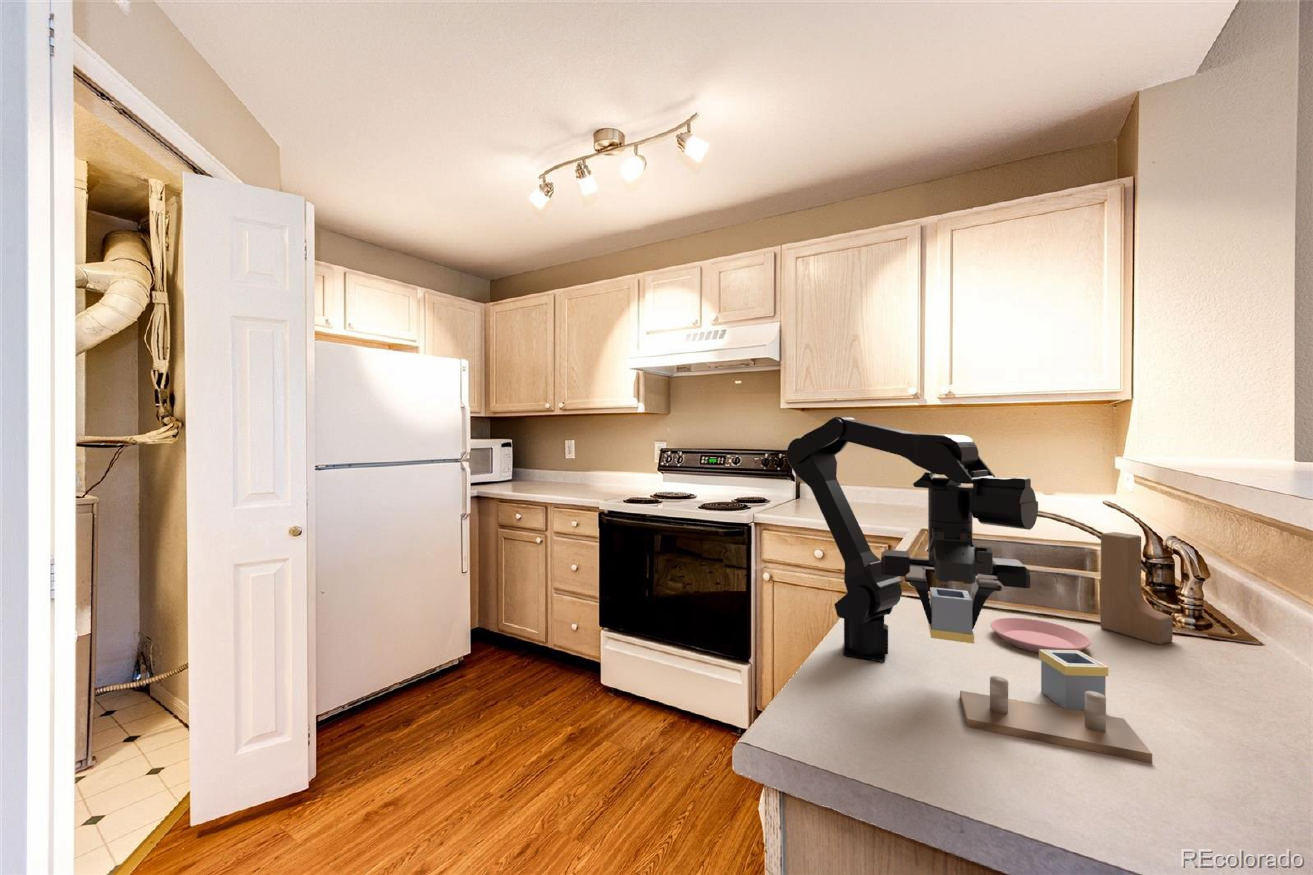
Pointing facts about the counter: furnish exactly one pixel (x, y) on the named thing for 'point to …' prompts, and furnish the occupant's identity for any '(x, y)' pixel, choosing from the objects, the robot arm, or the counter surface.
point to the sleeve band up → (1070, 677)
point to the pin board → (1053, 722)
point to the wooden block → (1128, 592)
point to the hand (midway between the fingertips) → (950, 625)
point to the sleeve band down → (951, 615)
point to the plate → (1039, 635)
